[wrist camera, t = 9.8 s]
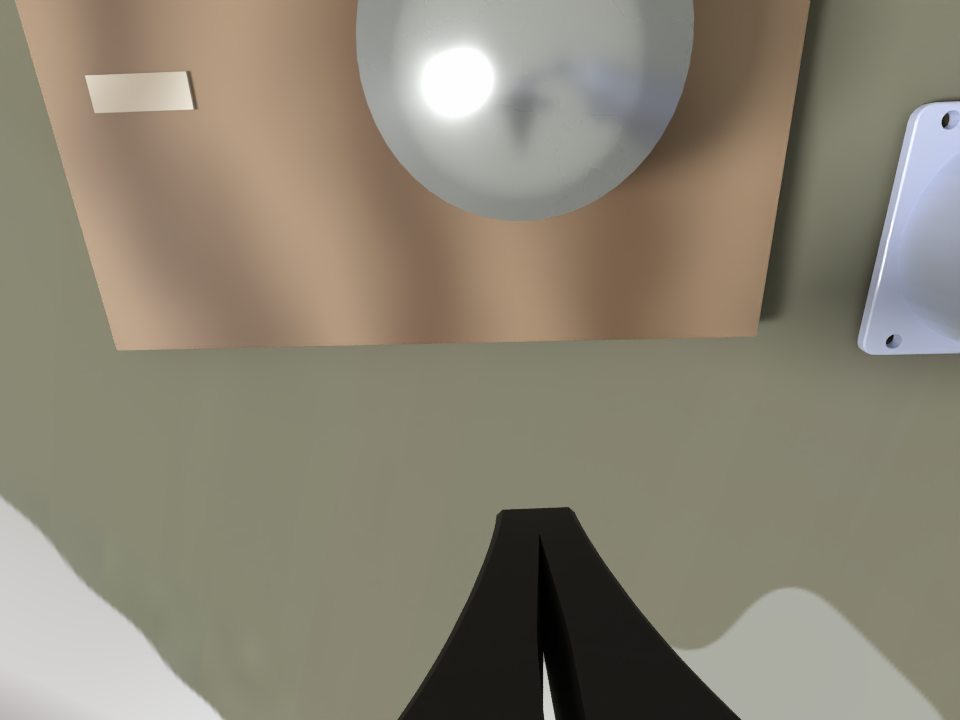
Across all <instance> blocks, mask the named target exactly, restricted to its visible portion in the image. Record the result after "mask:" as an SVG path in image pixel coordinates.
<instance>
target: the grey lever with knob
mask: <svg viewBox="0 0 960 720" xmlns="http://www.w3.org/2000/svg"><path fill="white" fill-rule="evenodd" d="M693 31H694V9H693V0H359V1H358V8H357V22H356V46H357V60H358V66H359V72H360V79H361V83H362V86H363V90H364V94H365V97H366V101H367V104H368V107H369V109H370V111H371V114H372V116H373V119H374V121H375V124H376V126H377V128H378V129H379V131H380V133H381V135H382V137H383V139H384V140H385V142H386V144H387V145H388V147H389V148H390V150H391V151H392V152H393V154H394V155H395V157H396V158H397V159H398V161H399V162H400V163H401V164H402V165H403V167H404V168H405V169H406V170H407V171H408V172H409V173H410V174H411V175H412V176H413V177H414V178H415V179H416V180H417V181H418V182H419V183H421V184H422V185H423V186H424V187H425V188H427V189H428V190H429V191H430V192H432V193H433V194H435V195H436V196H438V197H439V198H441V199H443V200H444V201H446V202H447V203H449V204H451V205H454V206H456V207H458V208H460V209H462V210H464V211H467V212H470V213H473V214H476V215H479V216H483V217H487V218H493V219H498V220H506V221H531V220H541V219H547V218H551V217H555V216H560V215H563V214H566V213H569V212H571V211H574V210H577V209H579V208H582V207H584V206H586V205H588V204H590V203H592V202H593V201H595V200H597V199H599V198H601V197H602V196H604V195H605V194H607V193H608V192H609V191H611V190H612V189H614V188H615V187H617V186H618V185H619V184H620V183H621V182H622V181H624V180H625V179H626V178H627V177H628V176H629V175H630V174H631V173H633V172H634V171H635V170H636V168H637V167H638V166H639V165H640V164H641V163H642V162H643V160H644V159H645V158H646V157H647V156H648V155H649V154H650V152H651V151H652V149H653V148H654V146H655V145H656V143H657V142H658V141H659V139H660V138H661V136H662V135H663V133H664V131H665V129H666V127H667V125H668V123H669V122H670V120H671V118H672V116H673V114H674V112H675V109H676V107H677V104H678V102H679V99H680V97H681V94H682V92H683V88H684V84H685V81H686V77H687V73H688V70H689V65H690V59H691V52H692V46H693Z"/></svg>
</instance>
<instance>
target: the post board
mask: <svg viewBox="0 0 960 720" xmlns="http://www.w3.org/2000/svg"><path fill="white" fill-rule="evenodd" d="M358 1H359V0H15V2H16V5H17V9H18V12H19V16H20V19H21V23H22V26H23V29H24V33H25V36H26V40H27V43H28V47H29V50H30V54H31V57H32V60H33V64H34V67H35V71H36V74H37V78H38V81H39V84H40V88H41V91H42V95H43V98H44V102H45V105H46V108H47V112H48V115H49V119H50V122H51V126H52V129H53V132H54V136H55V139H56V143H57V146H58V150H59V153H60V156H61V160H62V163H63V167H64V170H65V174H66V177H67V181H68V184H69V187H70V191H71V194H72V198H73V201H74V205H75V208H76V211H77V215H78V218H79V222H80V225H81V229H82V232H83V235H84V239H85V242H86V246H87V249H88V253H89V256H90V259H91V263H92V266H93V270H94V273H95V277H96V280H97V283H98V287H99V290H100V294H101V297H102V301H103V304H104V308H105V311H106V314H107V318H108V321H109V325H110V328H111V332H112V335H113V338H114V342H115V345H116V349H117V350H153V349H200V348H246V347H292V346H339V345H385V344H431V343H478V342H524V341H570V340H617V339H663V338H709V337H756V336H757V331H758V325H759V318H760V312H761V306H762V300H763V293H764V287H765V281H766V275H767V269H768V262H769V256H770V250H771V244H772V237H773V231H774V225H775V219H776V212H777V206H778V200H779V194H780V187H781V181H782V175H783V169H784V162H785V156H786V150H787V144H788V138H789V131H790V125H791V119H792V113H793V106H794V100H795V94H796V88H797V81H798V75H799V69H800V63H801V56H802V50H803V44H804V38H805V31H806V25H807V19H808V13H809V7H810V0H693V9H694V31H693V46H692V52H691V59H690V65H689V70H688V73H687V77H686V81H685V84H684V88H683V92H682V94H681V97H680V99H679V102H678V104H677V107H676V109H675V112H674V114H673V116H672V118H671V120H670V122H669V123H668V125H667V127H666V129H665V131H664V133H663V135H662V136H661V138H660V139H659V141H658V142H657V143H656V145H655V146H654V148H653V149H652V151H651V152H650V154H649V155H648V156H647V157H646V158H645V159H644V160H643V162H642V163H641V164H640V165H639V166H638V167H637V168H636V170H635V171H634V172H633V173H631V174H630V175H629V176H628V177H627V178H626V179H625V180H624V181H622V182H621V183H620V184H619V185H618V186H617V187H615V188H614V189H612V190H611V191H609V192H608V193H607V194H605V195H604V196H602V197H601V198H599V199H597V200H595V201H593V202H592V203H590V204H588V205H586V206H584V207H582V208H579V209H577V210H574V211H571V212H569V213H566V214H563V215H560V216H555V217H551V218H547V219H541V220H531V221H506V220H498V219H493V218H487V217H483V216H479V215H476V214H473V213H470V212H467V211H464V210H462V209H460V208H458V207H456V206H454V205H451V204H449V203H447V202H446V201H444V200H443V199H441V198H439V197H438V196H436V195H435V194H433V193H432V192H430V191H429V190H428V189H427V188H425V187H424V186H423V185H422V184H421V183H419V182H418V181H417V180H416V179H415V178H414V177H413V176H412V175H411V174H410V173H409V172H408V171H407V170H406V169H405V168H404V167H403V165H402V164H401V163H400V162H399V161H398V159H397V158H396V157H395V155H394V154H393V152H392V151H391V150H390V148H389V147H388V145H387V144H386V142H385V140H384V139H383V137H382V135H381V133H380V131H379V129H378V128H377V126H376V124H375V121H374V119H373V116H372V114H371V111H370V109H369V107H368V104H367V101H366V97H365V94H364V90H363V86H362V83H361V79H360V72H359V66H358V60H357V46H356V22H357V8H358Z"/></svg>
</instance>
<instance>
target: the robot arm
mask: <svg viewBox="0 0 960 720" xmlns="http://www.w3.org/2000/svg"><path fill="white" fill-rule="evenodd" d="M946 113H948V114H949V116H950V121H949V123H948V125H947V126H946V127H945V128H943V126H942V118H943V116H944V115H945V114H946ZM891 335H894V338H893V340H892V342H890V343H889V344H886V340H887V339H888V337H890V336H891ZM858 346H859V348H860V349H862V350H863V351H865V352H866V353H868V354H872V355H895V354H945V353H960V101H957V102H935V103H928V104H924V105H921V106H920V107H918V108H917V109H915V111H914V112H913V113H912V114H911V116H910V118H909V121H908V124H907V128H906V133H905V137H904V141H903V146H902V150H901V154H900V159H899V163H898V167H897V172H896V176H895V180H894V185H893V189H892V193H891V198H890V202H889V206H888V210H887V215H886V219H885V223H884V228H883V232H882V236H881V241H880V245H879V249H878V254H877V258H876V262H875V267H874V271H873V275H872V280H871V284H870V288H869V292H868V297H867V301H866V305H865V310H864V314H863V318H862V323H861V327H860V331H859V336H858ZM543 652H544V658H545V664H546V669H547V675H548V680H549V686H550V691H551V697H552V703H553V708H554V714H555V719H556V720H741V719H740V718H739V717H738V716H737V715H736V714H735V713H734V712H733V711H732V710H731V709H730V708H729V707H728V706H727V705H726V704H725V703H724V702H723V701H721V700H720V698H719V697H717V695H716V694H715V693H714V692H713V691H712V690H710V688H709V687H708V686H707V685H706V684H705V683H704V682H703V681H702V680H701V679H700V678H699V677H698V676H697V675H696V674H695V673H694V672H693V671H692V670H691V669H690V668H689V667H688V666H687V664H686V663H685V662H684V661H682V659H681V658H680V657H679V656H678V655H677V653H676V652H675V651H674V650H673V649H672V648H671V647H670V646H669V644H668V643H667V642H666V641H665V640H664V639H663V638H662V636H661V635H660V634H659V633H658V632H657V631H656V629H655V628H654V627H653V626H652V624H651V623H650V622H649V621H648V620H647V618H646V617H645V616H644V615H643V614H642V612H641V611H640V610H639V609H638V607H637V606H636V605H635V604H634V602H633V601H632V600H631V598H630V597H629V596H628V594H627V593H626V592H625V590H624V589H623V588H622V586H621V585H620V584H619V582H618V581H617V579H616V578H615V577H614V575H613V574H612V573H611V571H610V570H609V568H608V567H607V566H606V564H605V563H604V561H603V560H602V558H601V557H600V555H599V554H598V552H597V551H596V549H595V548H594V546H593V544H592V543H591V541H590V540H589V538H588V536H587V535H586V533H585V531H584V530H583V528H582V526H581V524H580V522H579V521H578V519H577V517H576V515H575V512H573V511H572V510H571V509H570V508H569V507H561V508H536V509H510V510H502V511H501V512H500V513H499V514H498V515H497V517H496V524H495V528H494V532H493V536H492V540H491V543H490V546H489V549H488V552H487V554H486V557H485V560H484V563H483V565H482V568H481V570H480V572H479V575H478V577H477V580H476V582H475V584H474V587H473V589H472V592H471V594H470V596H469V598H468V600H467V602H466V604H465V606H464V608H463V610H462V612H461V614H460V616H459V618H458V620H457V622H456V624H455V626H454V628H453V630H452V632H451V634H450V636H449V638H448V640H447V641H446V643H445V645H444V647H443V649H442V650H441V652H440V654H439V656H438V657H437V659H436V661H435V663H434V664H433V666H432V668H431V669H430V671H429V672H428V674H427V676H426V677H425V679H424V681H423V682H422V684H421V685H420V687H419V689H418V690H417V692H416V693H415V695H414V696H413V698H412V699H411V701H410V702H409V704H408V705H407V707H406V708H405V710H404V711H403V712H402V714H401V715H400V717H399V718H398V720H544V713H543Z"/></svg>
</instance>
